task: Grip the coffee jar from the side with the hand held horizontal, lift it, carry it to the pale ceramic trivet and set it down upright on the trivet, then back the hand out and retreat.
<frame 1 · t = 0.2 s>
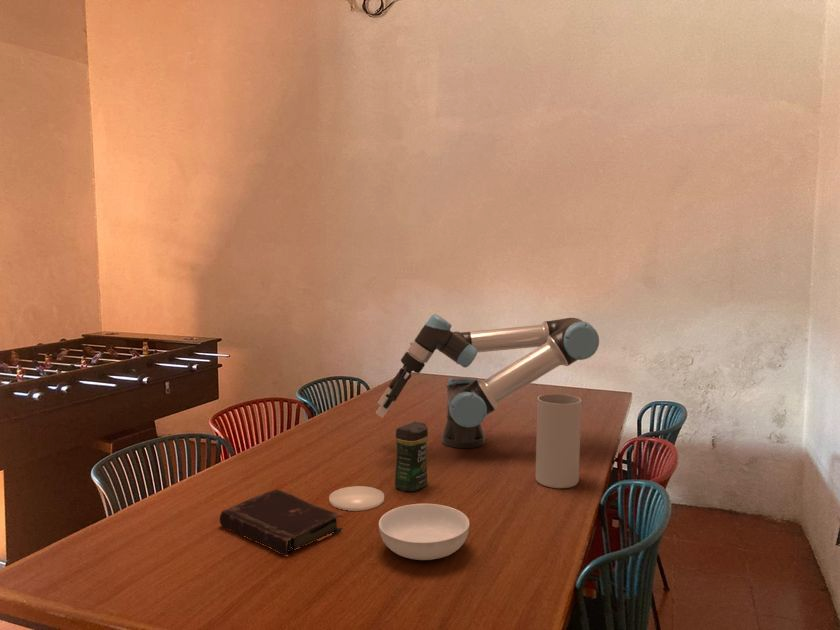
hand: (379, 410, 219), 15 cm above the table, tool tilted 35°, fingers open, 13 cm apart
diary: (281, 531, 165), on the table
cylinder vase: (556, 482, 197), on the table
serving bowl: (423, 550, 154), on the table
ceramic trivet: (356, 499, 183), on the table
coffee jar: (411, 487, 193), on the table
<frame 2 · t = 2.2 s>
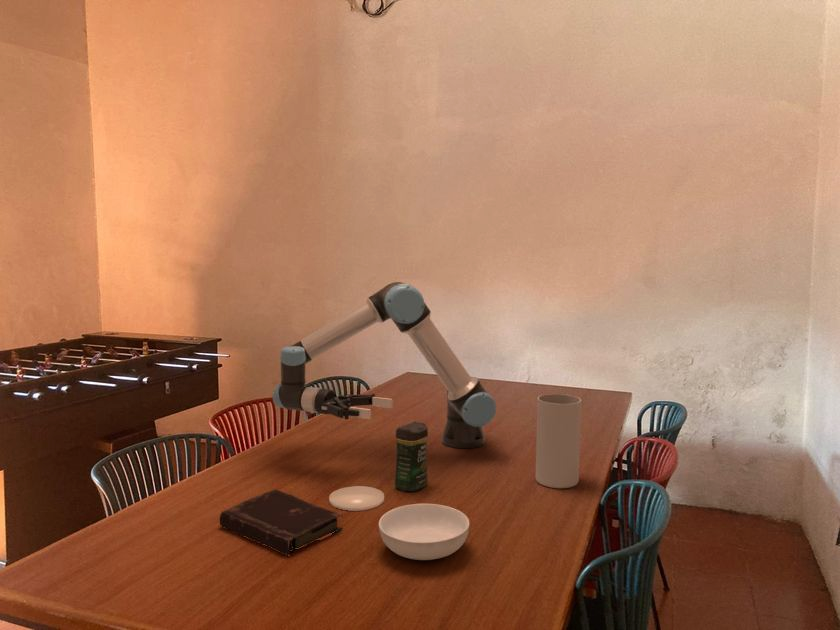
hand: (381, 408, 194), 22 cm above the table, tool horizontal, fingers open, 13 cm apart
nothing on the table moved.
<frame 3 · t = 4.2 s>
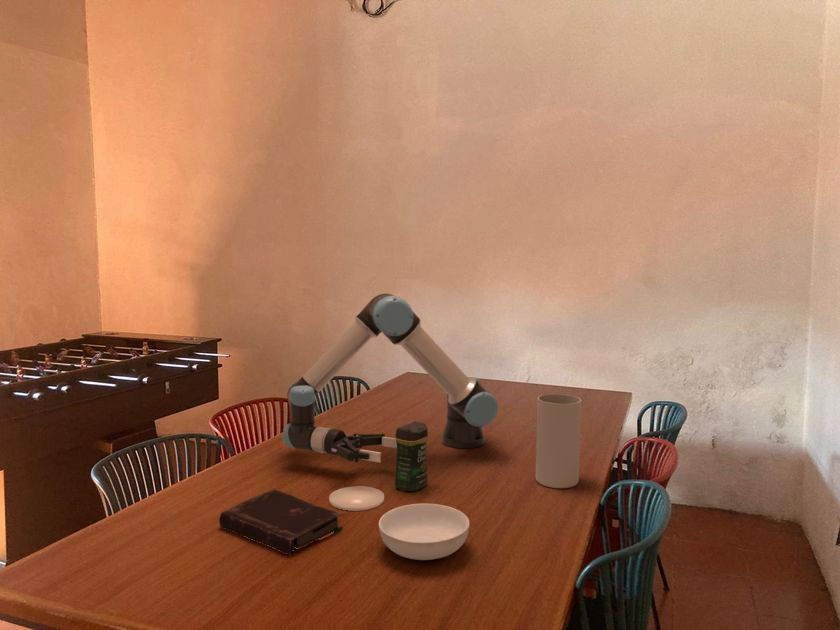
hand: (391, 450, 194), 10 cm above the table, tool horizontal, fingers open, 13 cm apart
nothing on the table moved.
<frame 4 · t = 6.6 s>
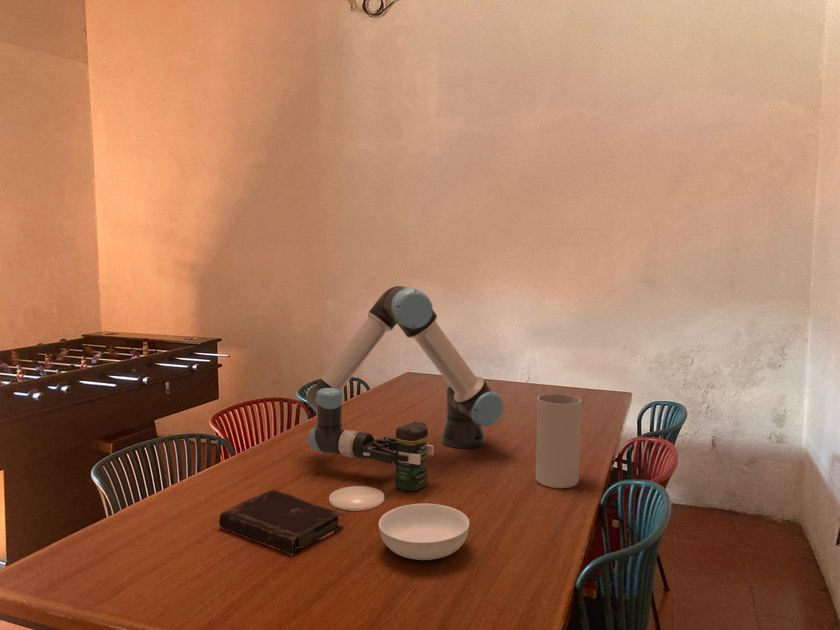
hand: (426, 455, 190), 10 cm above the table, tool horizontal, fingers closed on coffee jar, 8 cm apart
coffee jar: (411, 486, 193), on the table, touching gripper
everything else where it was.
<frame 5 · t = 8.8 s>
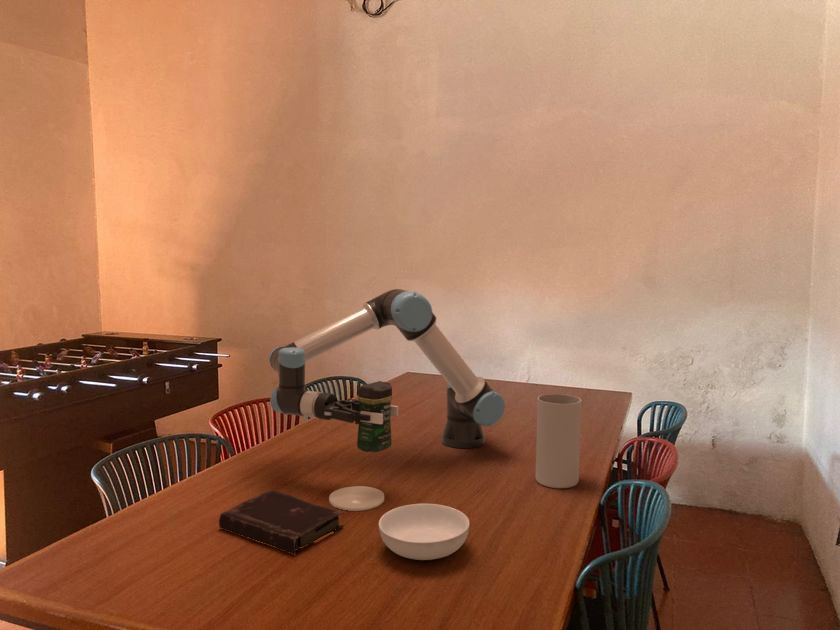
hand: (390, 415, 182), 23 cm above the table, tool horizontal, fingers closed on coffee jar, 8 cm apart
coffee jar: (374, 448, 185), point 13 cm above the table, touching gripper
everything else where it was.
when the fingers open (12 cm above the table, at t = 11.5 s): coffee jar drops 1 cm, resting on ceramic trivet.
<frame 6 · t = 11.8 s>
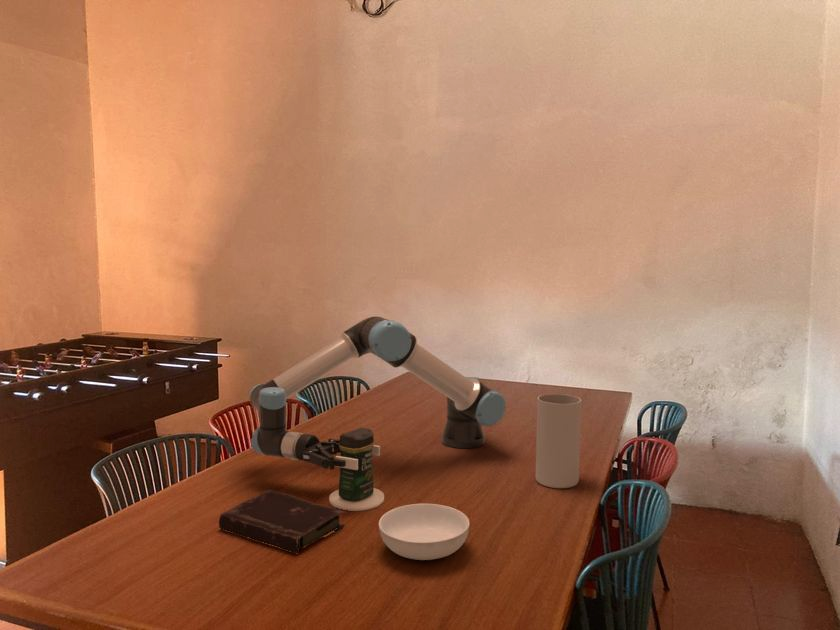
hand: (368, 457, 180), 12 cm above the table, tool horizontal, fingers open, 11 cm apart
coffee jar: (356, 496, 183), point 1 cm above the table, touching ceramic trivet
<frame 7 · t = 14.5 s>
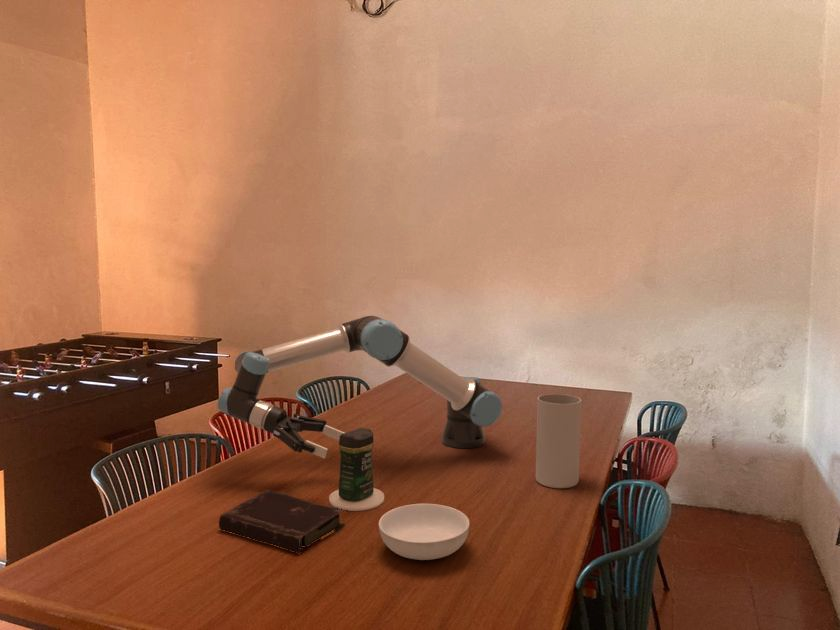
hand: (335, 445, 189), 13 cm above the table, tool tilted 70°, fingers open, 13 cm apart
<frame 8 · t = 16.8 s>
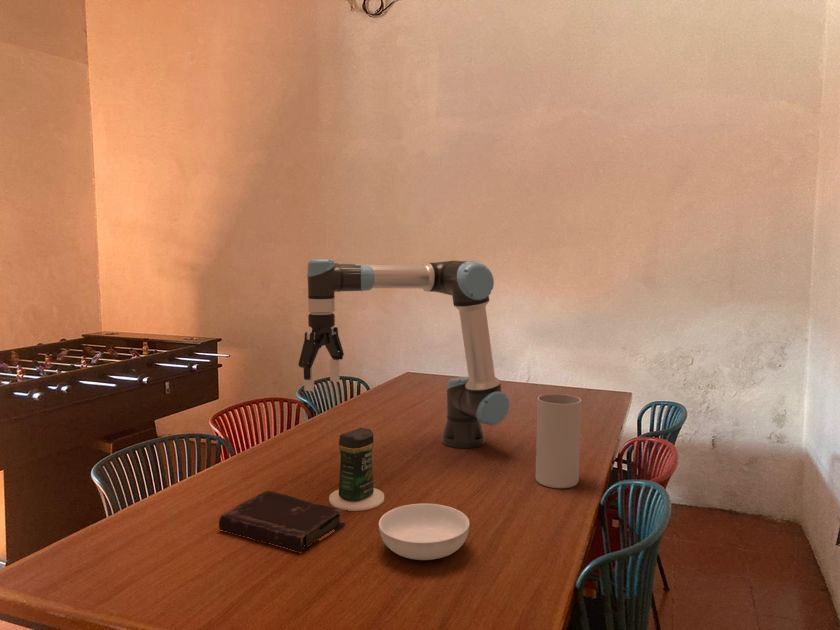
hand: (322, 385, 193), 29 cm above the table, tool pointing down, fingers open, 13 cm apart
at the end: coffee jar 0.2 cm from the ceramic trivet (horizontally); coffee jar tilted 0°; the gripper is holding nothing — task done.
